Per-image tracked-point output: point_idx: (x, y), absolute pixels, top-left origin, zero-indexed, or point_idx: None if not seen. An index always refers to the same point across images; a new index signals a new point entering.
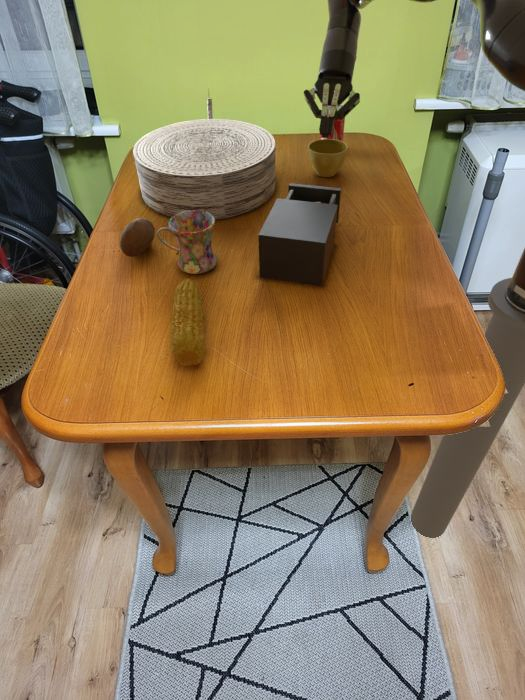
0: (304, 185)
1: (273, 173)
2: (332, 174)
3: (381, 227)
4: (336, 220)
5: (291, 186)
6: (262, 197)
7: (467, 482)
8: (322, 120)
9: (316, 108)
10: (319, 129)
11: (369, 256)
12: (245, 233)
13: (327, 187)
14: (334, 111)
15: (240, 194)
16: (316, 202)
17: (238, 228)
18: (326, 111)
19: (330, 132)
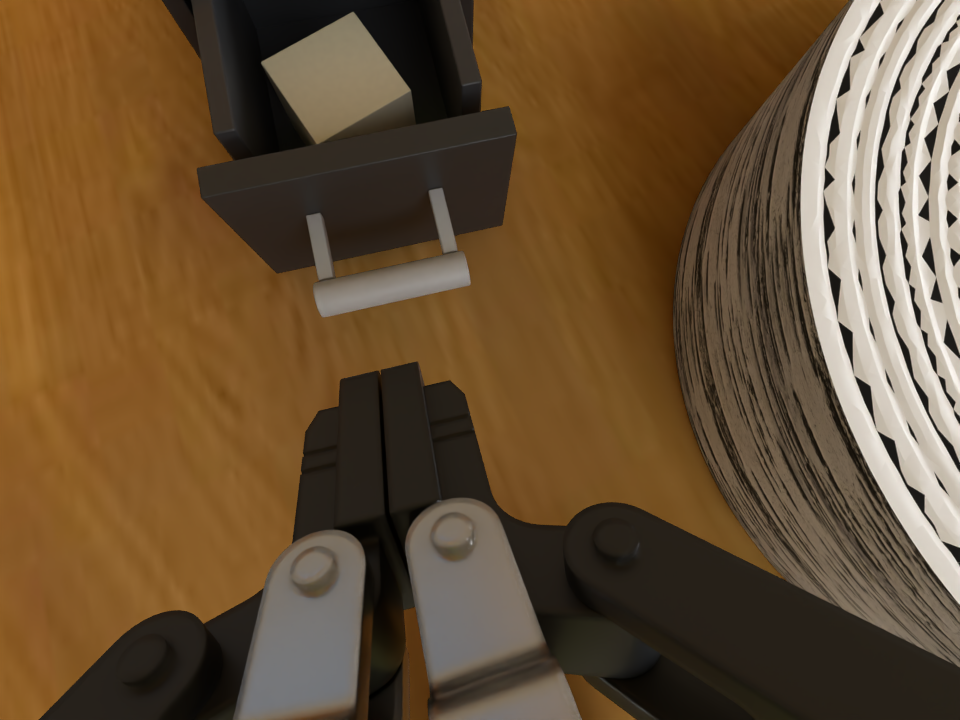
0: (422, 141)
1: (740, 412)
2: None
3: (89, 341)
4: (182, 30)
5: (490, 110)
6: (687, 282)
7: None
8: (459, 482)
9: (634, 565)
10: (459, 395)
11: (90, 116)
12: (605, 65)
13: (284, 174)
14: (268, 628)
15: (754, 122)
16: (332, 128)
17: (651, 84)
18: (424, 583)
19: (320, 411)
